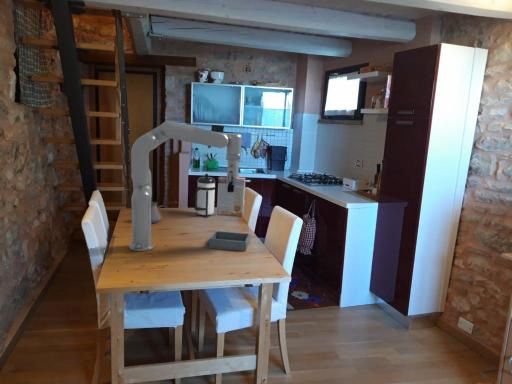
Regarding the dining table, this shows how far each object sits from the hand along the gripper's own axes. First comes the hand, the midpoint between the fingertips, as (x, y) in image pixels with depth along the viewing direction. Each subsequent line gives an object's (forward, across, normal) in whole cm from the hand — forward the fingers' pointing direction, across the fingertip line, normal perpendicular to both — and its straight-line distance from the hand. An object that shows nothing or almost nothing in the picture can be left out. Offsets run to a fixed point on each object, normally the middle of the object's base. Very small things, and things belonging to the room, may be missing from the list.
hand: (231, 190), depth 214 cm
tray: (+31, +2, 0) cm, 31 cm away
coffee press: (+31, +63, +28) cm, 75 cm away
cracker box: (+14, 0, 0) cm, 14 cm away
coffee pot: (+32, +36, +51) cm, 70 cm away
